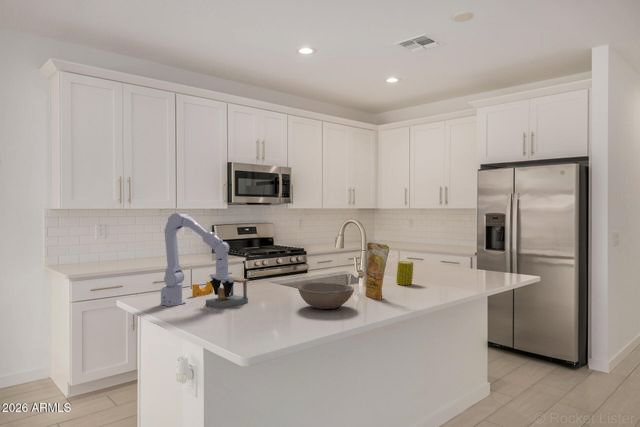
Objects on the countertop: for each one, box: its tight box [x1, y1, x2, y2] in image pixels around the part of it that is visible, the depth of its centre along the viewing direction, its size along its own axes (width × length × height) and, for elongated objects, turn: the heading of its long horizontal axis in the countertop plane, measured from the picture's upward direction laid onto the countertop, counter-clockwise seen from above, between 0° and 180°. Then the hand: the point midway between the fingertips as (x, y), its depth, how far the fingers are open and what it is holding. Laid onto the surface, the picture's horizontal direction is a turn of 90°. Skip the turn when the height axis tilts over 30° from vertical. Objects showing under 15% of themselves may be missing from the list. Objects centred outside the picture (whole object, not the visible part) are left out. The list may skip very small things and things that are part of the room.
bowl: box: [297, 282, 355, 310], centre depth 204 cm, size 26×26×10 cm
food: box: [395, 260, 414, 286], centre depth 264 cm, size 15×12×10 cm
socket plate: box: [205, 276, 250, 309], centre depth 212 cm, size 16×13×12 cm
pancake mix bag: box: [365, 241, 390, 301], centre depth 227 cm, size 7×19×28 cm, turn 22°
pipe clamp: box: [191, 280, 214, 298], centre depth 235 cm, size 12×4×6 cm, turn 148°
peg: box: [217, 287, 227, 301], centre depth 209 cm, size 4×4×8 cm
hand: (221, 295), depth 209 cm, fingers open, 7 cm apart
